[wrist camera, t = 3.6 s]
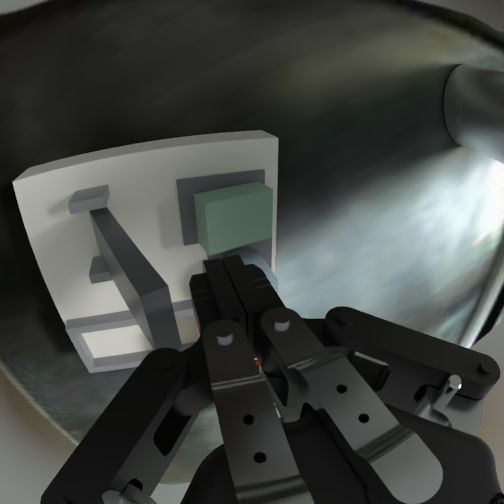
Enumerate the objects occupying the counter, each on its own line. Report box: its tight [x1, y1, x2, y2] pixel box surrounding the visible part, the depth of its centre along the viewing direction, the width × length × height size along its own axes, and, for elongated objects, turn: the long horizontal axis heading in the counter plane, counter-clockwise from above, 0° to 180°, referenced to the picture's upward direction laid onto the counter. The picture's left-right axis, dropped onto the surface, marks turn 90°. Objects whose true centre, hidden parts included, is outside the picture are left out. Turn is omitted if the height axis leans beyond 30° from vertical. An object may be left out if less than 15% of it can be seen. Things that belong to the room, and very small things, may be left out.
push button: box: [228, 248, 278, 292], centre depth 20 cm, size 3×3×2 cm
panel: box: [13, 130, 278, 373], centre depth 20 cm, size 16×16×5 cm
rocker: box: [194, 181, 273, 256], centre depth 17 cm, size 4×3×2 cm
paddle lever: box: [89, 206, 183, 350], centre depth 13 cm, size 1×3×9 cm, turn 1°
